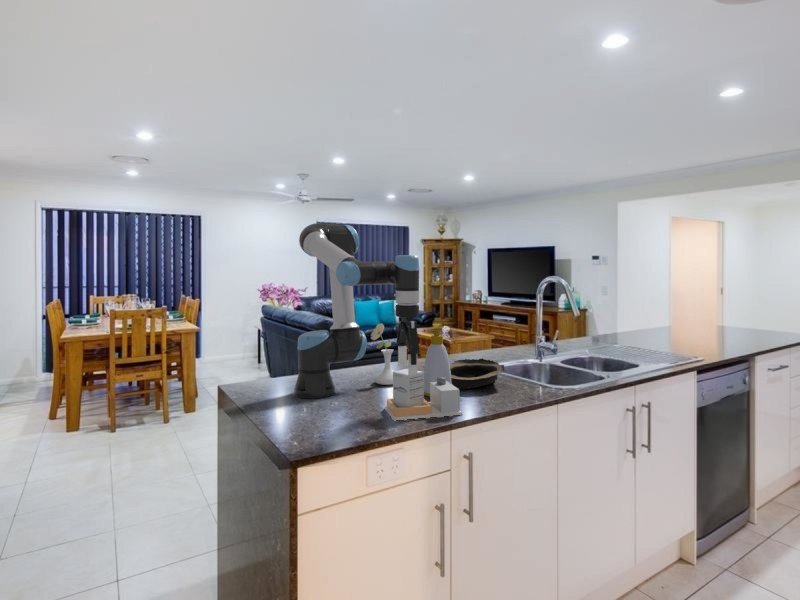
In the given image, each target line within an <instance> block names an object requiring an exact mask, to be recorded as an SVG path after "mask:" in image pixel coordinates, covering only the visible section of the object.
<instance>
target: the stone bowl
mask: <svg viewBox="0 0 800 600" xmlns="http://www.w3.org/2000/svg"><path fill="white" fill-rule="evenodd" d="M450 371H451V382H452V385H453V386H455V387H456V388H458V389H461V390H468V389H474V388H479V387H482V386H486V385H489V386H492V385H494V384H495V383H496V381H498V375H500V374H502V373H504V372H505V365H504V364H500V363H499V362H497V361H494V360H490V359H485V358H483V357H482V358H478V359H473V358H472V359H458V360H454V361H453V362H451V363H450Z"/></svg>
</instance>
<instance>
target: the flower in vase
mask: <svg viewBox="0 0 800 600" xmlns="http://www.w3.org/2000/svg"><path fill="white" fill-rule="evenodd" d="M384 331H385V324H383V323H378V324H377V325H376V327H375V328H373V329H372V332H371V334H370V339H371V340H373V341H376V340H377V339H379V338H381V339H382V342H380V343H378V344H377V346H376V349H381V348H382V347H383V346H384V348H385V349H381V350H380V351H381V353H382V354H383V358H384V367H383V369H382V370H381V371H380V372H379V373H378V374H377V375H376V376H375V377H374V379H373V381H374V383H375V384H378V385H380V386H381V385H382V386H383V385H384V386H393V372H394V371H395V370H393V368H392V367H391V359H392V354H393V352H394V349H389V347H391V345H392V341H391V340H389V341H387V342H385V341H384V339H383V336H382V334H383V333H384Z"/></svg>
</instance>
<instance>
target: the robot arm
mask: <svg viewBox="0 0 800 600" xmlns="http://www.w3.org/2000/svg"><path fill="white" fill-rule="evenodd" d="M359 238H360V237H359V234H358V232H357V230H356V229H355V228H354V227H353V226H352V225H350V224H343V223H320V222H319V223H318V222H317V223H312V224H309V225H307V226H306V227H304V228H303V229H302V230H301V232H300V235H299V237H298V242H299V246H300V248H301V250H302V251H303V252H304V253H305V254H307V255H308V256H309V257H313V258H316V259H317V260H319V261H320V262H321V263H322V264H324V265H325V266H327V268H329V269H328V270H329V280H330V295H331V297H330V298H331V309H332V323H333V324H332V325H331V326H330V328H329V330H327V329H326V330H325V329H319V330H312V331H308V332H305V333H302V334H300V335H299V336H298V337H297V347H296V348H297V363H298V365H297V366H298V370H297V371H298V375H297V378H296V382H295V385H294V390H293V391H294V392H293V393H294V396H295V397H296V396H297V398H300V397H301V398H302V399H320V398H322V399H323V398H326V397H331V396H333V395H334V394H335V392H336V386H335V383H334V380H333V377H332V375H331V370H330V367H331V366H330V365H331V364H332V365H333V364H339V363H345V362H346V363H347V362H350V363H351V362H354V361H359V360H361V358H363V357H364V355H365V354H366V350H367V346H368V345H367V344H368V340H367V337H366V334H365V332H364V331H362V330H360V325H359V324H358V323H357V322H356V315H355V314H356V313H355V300H354V289H353V288H354V286H368V285H369V286H374V285H375V286H376V285H381V286H382V285H395V288H394V289H395V293H394V294H393V297H394V298H395V303H396V305H395V307H394V308H395V317H398V327H397V334H396V335H397V336H396V343H397V351H398V352H397V359H398V360H397V361H398V362H397V366H398V367H404V366H407V369H408V375H417V371H418V354H420V352H421V350H420V344H419V336H418V335H419V334H418V322H417V321H416V320H414V318H416V317H419V316H420V304H419V303H420V261H419V260H420V258H419V257H418V255H416V254H415V255H413V254H408V255H407V254H405V255H404V254H403V255H399V254H398V255H396V256H395V260H394V261H387V260H385V261H360V260H358V259H356V258H355V254H356V253H358V251H359V248H360V239H359ZM407 348H408V351H407ZM407 356H408V357H407ZM407 358H408V359H407ZM407 361H408V362H407ZM301 398H300V399H301Z"/></svg>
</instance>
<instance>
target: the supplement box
mask: <svg viewBox="0 0 800 600" xmlns="http://www.w3.org/2000/svg"><path fill="white" fill-rule="evenodd" d="M393 371H394V372H393V385H392V394H393V395H392V399H393V403H394V405H395V406H396V407H397V408H401V407H413V406H424V399H425V395H424V371H421V370H417V375H408V368H402V369H400V370H393Z"/></svg>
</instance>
